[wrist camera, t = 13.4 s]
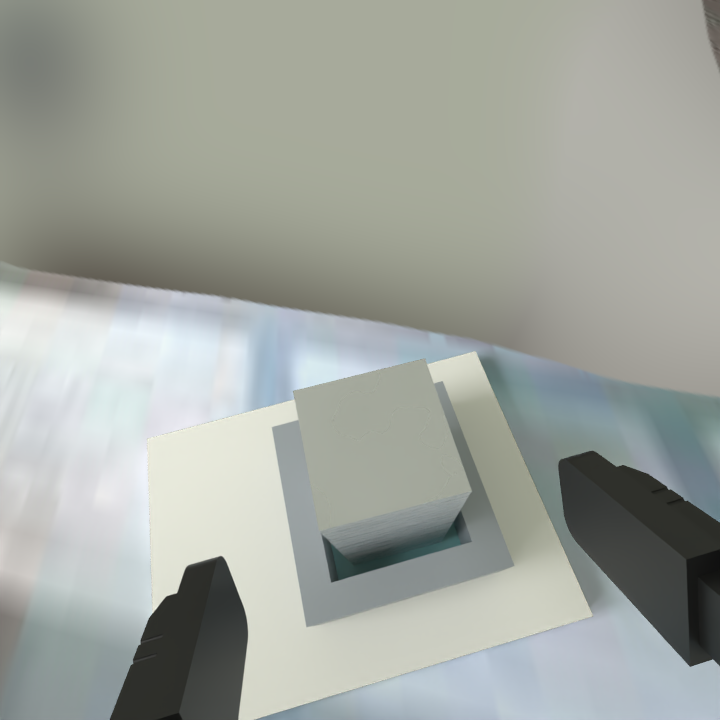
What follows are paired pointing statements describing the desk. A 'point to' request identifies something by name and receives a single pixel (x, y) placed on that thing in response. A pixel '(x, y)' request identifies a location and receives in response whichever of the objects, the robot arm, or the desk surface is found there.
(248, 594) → the docking board
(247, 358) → the desk surface
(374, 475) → the grainy grey brick
